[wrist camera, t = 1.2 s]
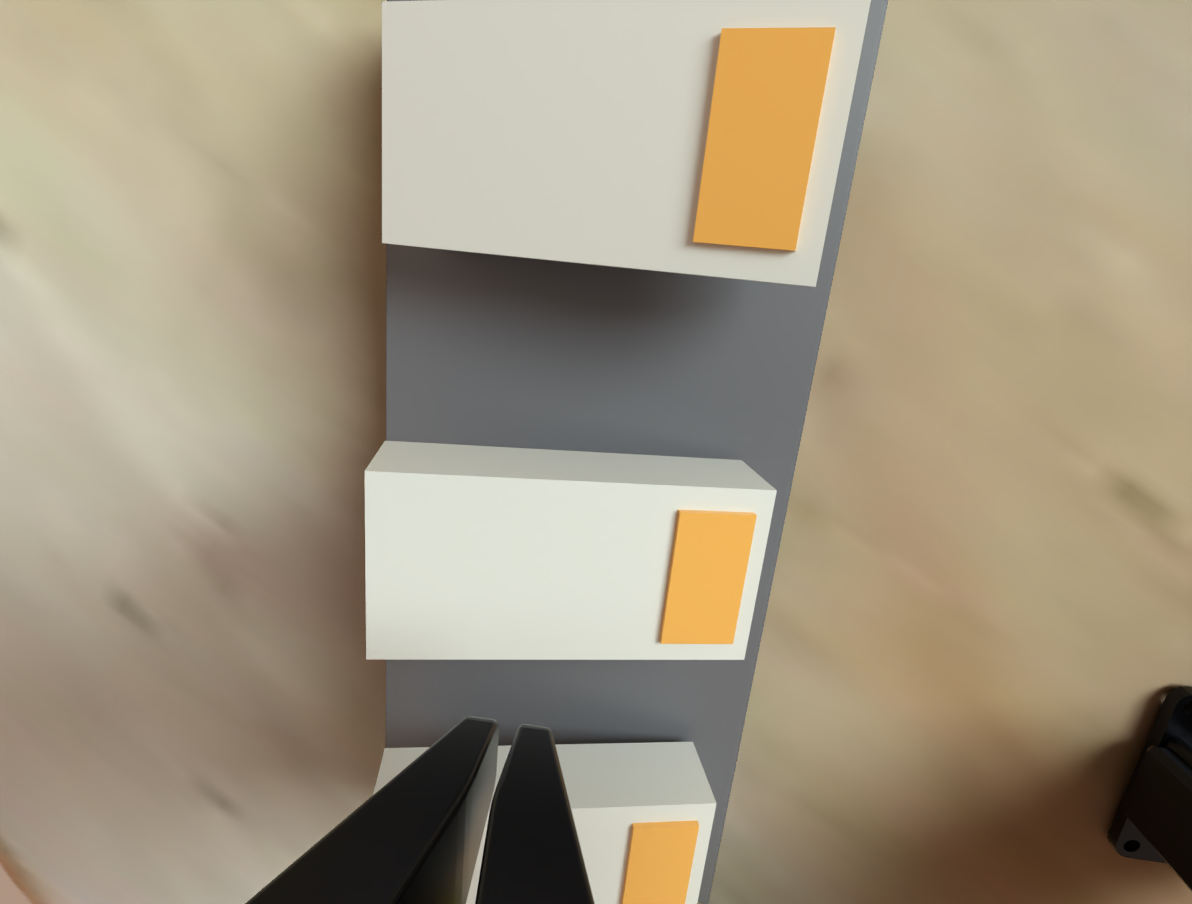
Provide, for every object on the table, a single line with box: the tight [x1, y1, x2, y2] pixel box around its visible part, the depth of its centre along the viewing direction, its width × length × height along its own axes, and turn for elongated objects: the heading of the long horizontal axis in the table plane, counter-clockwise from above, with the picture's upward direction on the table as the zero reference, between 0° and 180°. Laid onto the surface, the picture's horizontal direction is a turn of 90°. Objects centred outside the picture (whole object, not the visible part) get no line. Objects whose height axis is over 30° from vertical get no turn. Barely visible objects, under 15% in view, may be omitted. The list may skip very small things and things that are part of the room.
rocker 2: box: [365, 441, 777, 660], centre depth 13 cm, size 8×4×2 cm, turn 85°
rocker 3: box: [373, 742, 717, 904], centre depth 16 cm, size 8×4×2 cm, turn 85°
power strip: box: [386, 0, 888, 904], centre depth 17 cm, size 10×30×4 cm, turn 174°
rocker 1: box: [382, 0, 871, 287], centre depth 11 cm, size 8×4×2 cm, turn 84°
